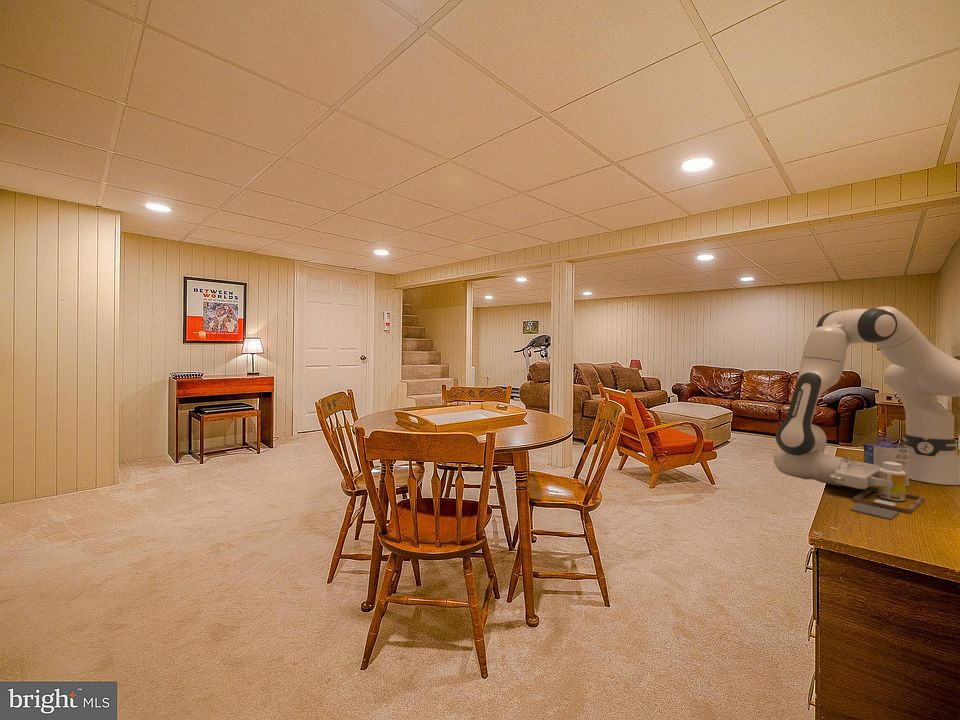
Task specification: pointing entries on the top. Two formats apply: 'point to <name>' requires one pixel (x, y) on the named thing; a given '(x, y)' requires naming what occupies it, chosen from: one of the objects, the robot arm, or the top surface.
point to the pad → (874, 511)
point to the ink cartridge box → (887, 455)
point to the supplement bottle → (898, 476)
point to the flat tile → (885, 502)
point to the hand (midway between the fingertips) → (896, 481)
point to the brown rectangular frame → (895, 508)
